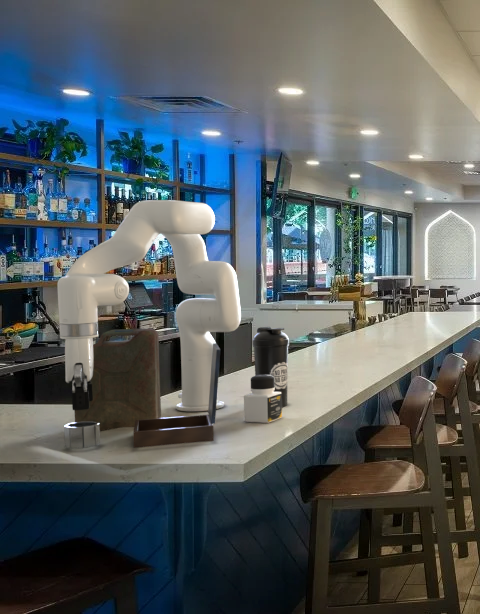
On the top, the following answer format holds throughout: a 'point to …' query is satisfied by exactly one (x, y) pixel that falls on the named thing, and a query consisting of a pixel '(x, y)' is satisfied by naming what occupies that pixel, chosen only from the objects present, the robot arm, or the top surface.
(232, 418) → the top surface
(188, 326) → the robot arm
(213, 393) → the lid
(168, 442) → the brown tray
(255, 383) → the medicine bottle
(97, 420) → the canister
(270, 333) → the water bottle
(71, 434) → the grey octagonal hollow piece
